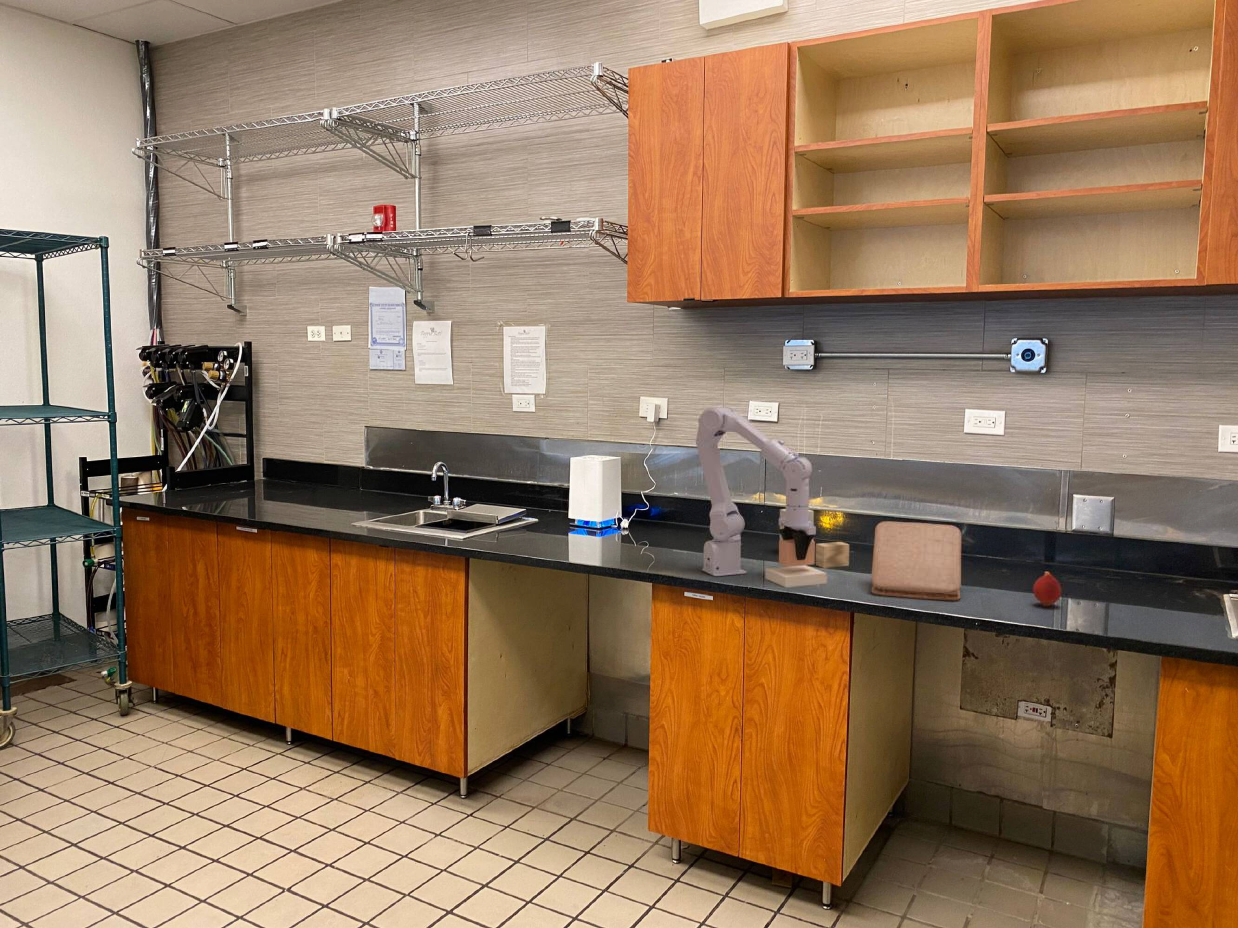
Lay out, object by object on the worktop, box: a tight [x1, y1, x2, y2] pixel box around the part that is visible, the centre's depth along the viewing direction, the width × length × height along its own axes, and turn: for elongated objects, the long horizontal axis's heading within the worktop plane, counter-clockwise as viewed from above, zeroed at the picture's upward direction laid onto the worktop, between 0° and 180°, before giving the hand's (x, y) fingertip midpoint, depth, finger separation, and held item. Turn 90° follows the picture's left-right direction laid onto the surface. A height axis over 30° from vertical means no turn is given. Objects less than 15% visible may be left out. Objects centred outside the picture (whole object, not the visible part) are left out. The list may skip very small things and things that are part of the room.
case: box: [870, 520, 962, 602], centre depth 219 cm, size 20×21×16 cm
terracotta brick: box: [778, 539, 816, 567], centre depth 228 cm, size 8×4×6 cm, turn 111°
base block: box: [765, 565, 828, 588], centre depth 229 cm, size 12×10×3 cm
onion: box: [1032, 571, 1062, 607], centre depth 203 cm, size 6×6×8 cm
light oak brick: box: [815, 541, 850, 569], centre depth 246 cm, size 8×4×6 cm, turn 110°
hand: (796, 557), depth 228 cm, fingers closed on terracotta brick, 4 cm apart
